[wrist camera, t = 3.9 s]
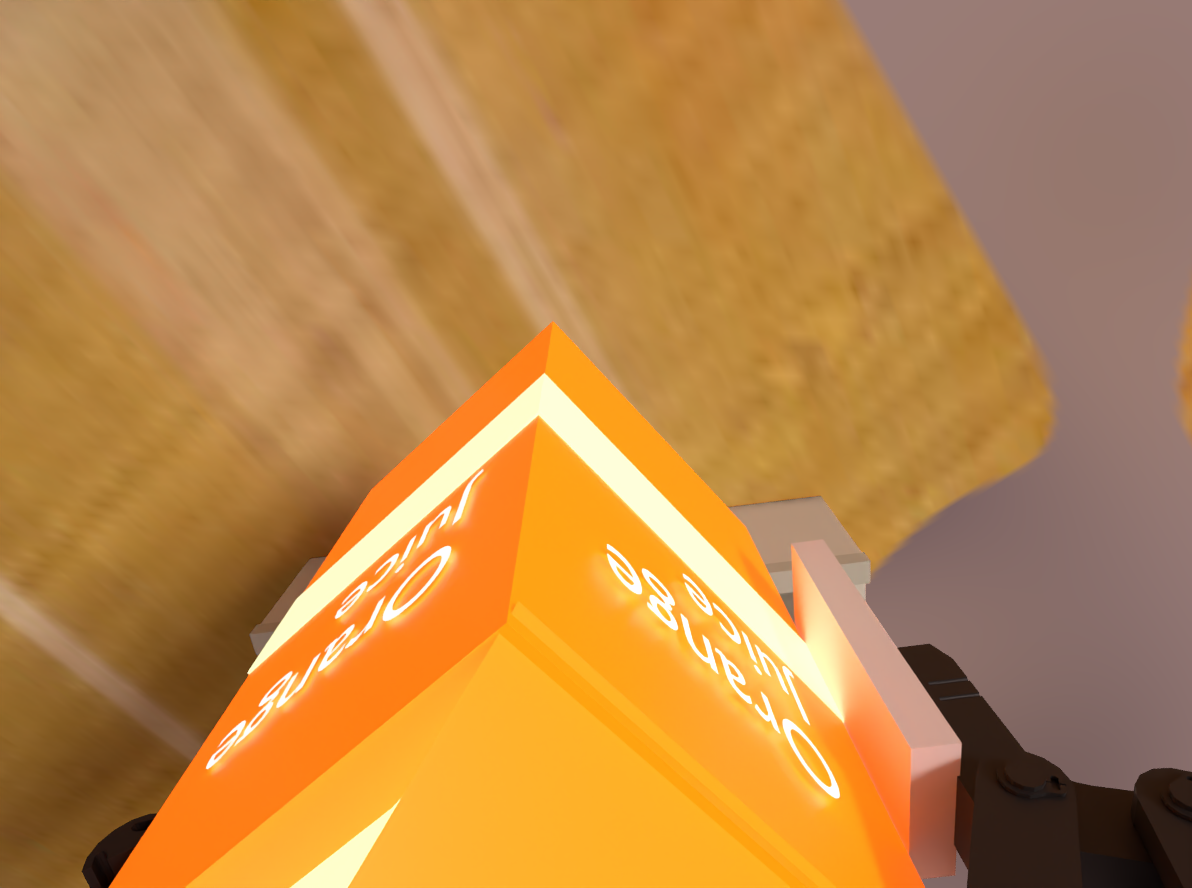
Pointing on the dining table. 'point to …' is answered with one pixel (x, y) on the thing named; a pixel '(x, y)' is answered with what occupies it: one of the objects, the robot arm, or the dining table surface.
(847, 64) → the dining table surface
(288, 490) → the dining table surface
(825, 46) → the dining table surface
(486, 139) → the dining table surface
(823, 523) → the tote
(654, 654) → the orange juice
